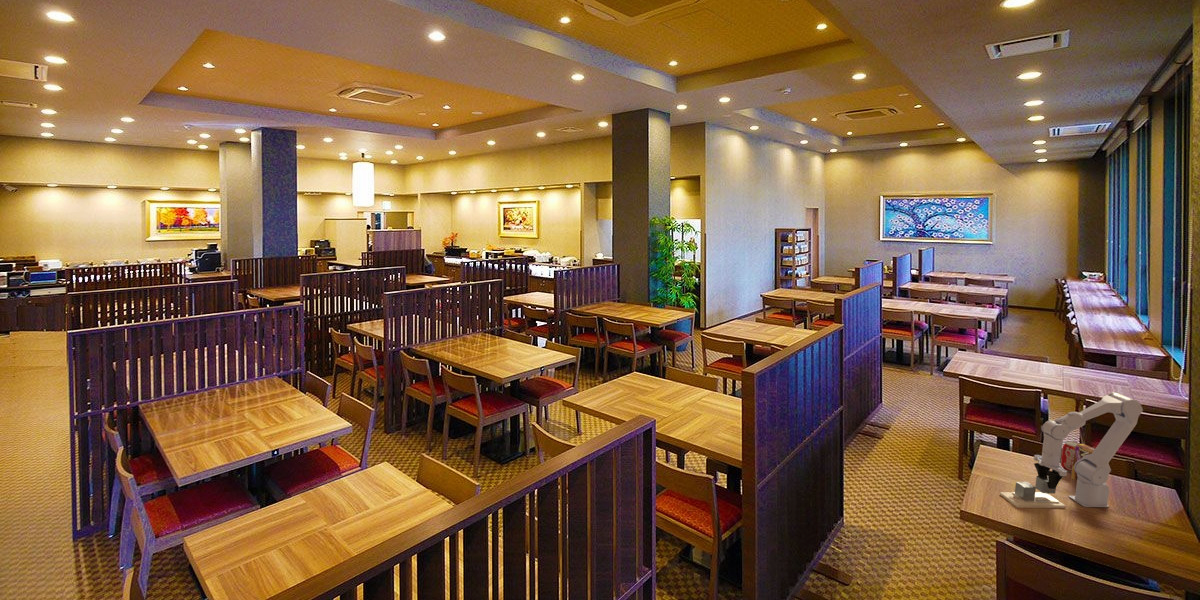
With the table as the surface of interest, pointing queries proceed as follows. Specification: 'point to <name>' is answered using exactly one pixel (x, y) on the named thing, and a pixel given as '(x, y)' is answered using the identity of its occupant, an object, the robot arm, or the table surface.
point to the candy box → (1080, 456)
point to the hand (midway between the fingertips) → (1047, 485)
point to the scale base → (1021, 504)
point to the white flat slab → (1039, 498)
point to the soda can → (1068, 455)
